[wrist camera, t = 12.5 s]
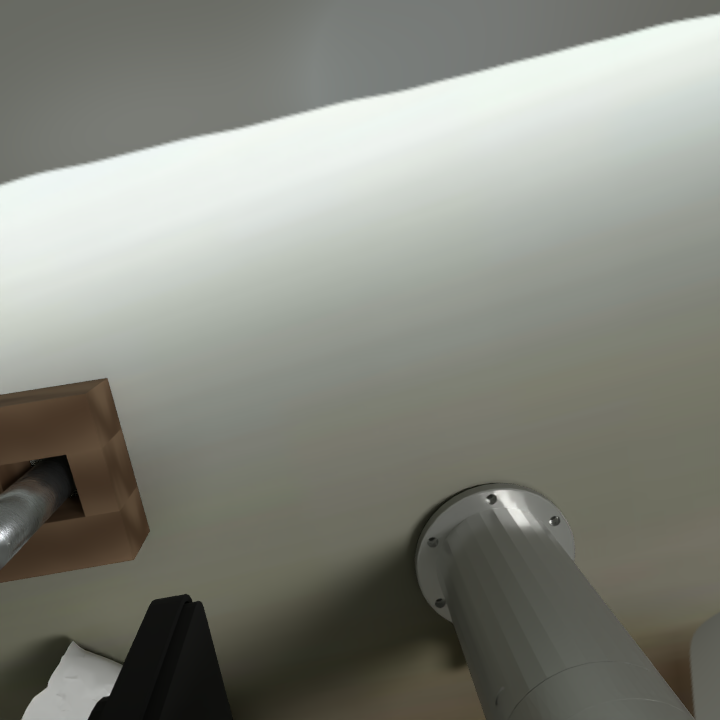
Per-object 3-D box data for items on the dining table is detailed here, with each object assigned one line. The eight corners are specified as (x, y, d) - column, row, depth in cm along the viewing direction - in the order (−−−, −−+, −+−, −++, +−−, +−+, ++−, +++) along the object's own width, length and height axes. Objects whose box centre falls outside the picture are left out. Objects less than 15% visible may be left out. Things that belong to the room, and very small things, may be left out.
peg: (93, 482, 38) (16, 570, 28) (51, 489, 38) (-41, 580, 28) (82, 444, 37) (-2, 520, 27) (39, 451, 37) (-61, 530, 27)
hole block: (149, 531, 39) (134, 559, 36) (27, 551, 39) (-1, 582, 35) (107, 378, 36) (85, 393, 33) (-26, 399, 36) (-63, 416, 32)
